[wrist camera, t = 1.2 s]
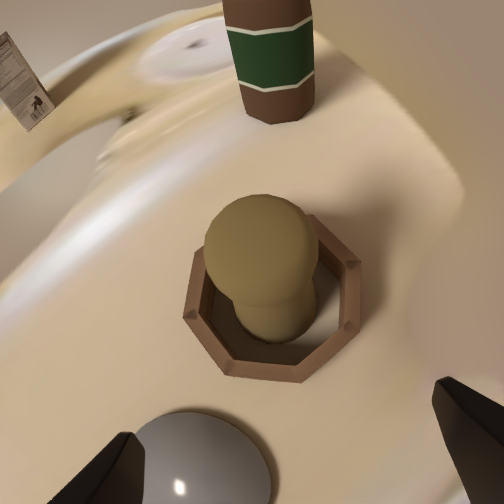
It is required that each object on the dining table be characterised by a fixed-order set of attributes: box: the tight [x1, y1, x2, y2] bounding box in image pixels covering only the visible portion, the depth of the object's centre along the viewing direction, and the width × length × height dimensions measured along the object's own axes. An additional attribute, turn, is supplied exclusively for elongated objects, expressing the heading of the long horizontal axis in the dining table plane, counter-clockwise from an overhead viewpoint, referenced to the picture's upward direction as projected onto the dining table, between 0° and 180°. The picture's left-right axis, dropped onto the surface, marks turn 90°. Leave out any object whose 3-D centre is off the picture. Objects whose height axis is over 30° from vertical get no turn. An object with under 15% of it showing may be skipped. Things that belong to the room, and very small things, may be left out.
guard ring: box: [183, 215, 361, 383], centre depth 22 cm, size 11×11×3 cm
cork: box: [203, 194, 318, 344], centre depth 18 cm, size 6×6×11 cm
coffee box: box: [0, 32, 56, 132], centre depth 34 cm, size 9×6×16 cm
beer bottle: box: [222, 0, 315, 125], centre depth 21 cm, size 8×8×24 cm
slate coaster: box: [135, 412, 271, 504], centre depth 18 cm, size 11×11×1 cm
